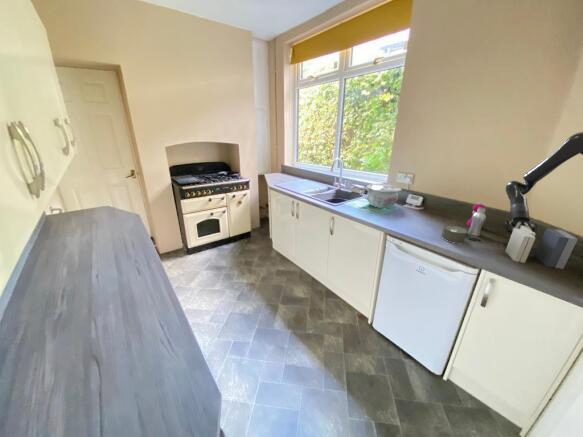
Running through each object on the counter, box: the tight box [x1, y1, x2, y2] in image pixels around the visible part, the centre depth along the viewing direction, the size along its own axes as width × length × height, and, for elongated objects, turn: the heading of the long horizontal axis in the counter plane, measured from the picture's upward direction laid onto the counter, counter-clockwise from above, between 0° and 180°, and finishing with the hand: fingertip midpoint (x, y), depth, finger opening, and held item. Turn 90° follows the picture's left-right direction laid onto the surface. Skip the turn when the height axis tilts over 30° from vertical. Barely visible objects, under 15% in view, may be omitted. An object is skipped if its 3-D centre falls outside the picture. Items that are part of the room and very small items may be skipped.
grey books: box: [533, 228, 578, 270], centre depth 116 cm, size 6×11×16 cm, turn 158°
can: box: [441, 224, 468, 244], centre depth 141 cm, size 12×12×7 cm
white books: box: [504, 228, 536, 264], centre depth 121 cm, size 4×11×14 cm, turn 159°
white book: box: [519, 226, 537, 238], centre depth 125 cm, size 2×11×14 cm, turn 159°
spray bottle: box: [466, 201, 486, 227], centre depth 151 cm, size 7×7×20 cm
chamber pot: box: [360, 182, 402, 209], centre depth 198 cm, size 28×28×21 cm
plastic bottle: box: [466, 207, 487, 242], centre depth 139 cm, size 6×7×20 cm
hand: (522, 240), depth 126 cm, fingers open, 5 cm apart
